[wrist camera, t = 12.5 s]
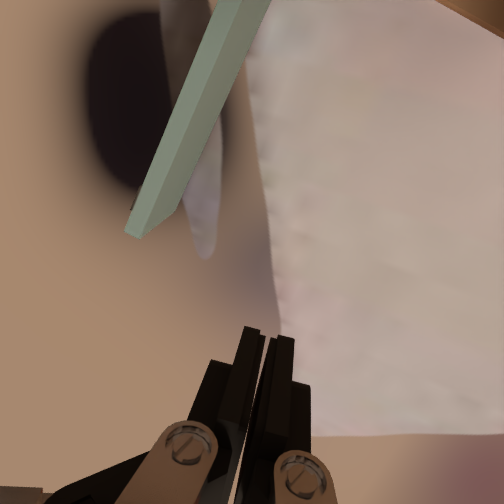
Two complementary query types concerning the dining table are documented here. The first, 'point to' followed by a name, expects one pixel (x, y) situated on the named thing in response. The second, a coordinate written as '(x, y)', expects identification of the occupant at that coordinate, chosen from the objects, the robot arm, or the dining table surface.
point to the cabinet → (480, 13)
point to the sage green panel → (196, 111)
